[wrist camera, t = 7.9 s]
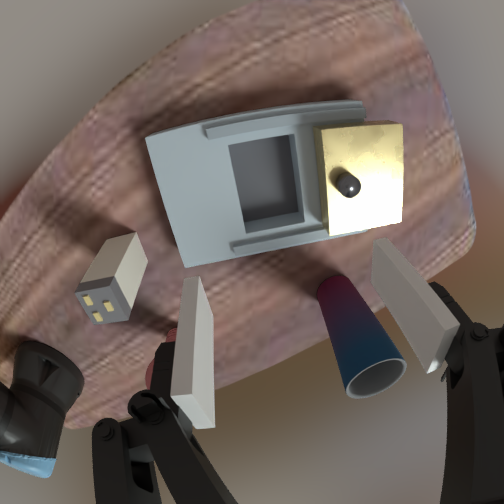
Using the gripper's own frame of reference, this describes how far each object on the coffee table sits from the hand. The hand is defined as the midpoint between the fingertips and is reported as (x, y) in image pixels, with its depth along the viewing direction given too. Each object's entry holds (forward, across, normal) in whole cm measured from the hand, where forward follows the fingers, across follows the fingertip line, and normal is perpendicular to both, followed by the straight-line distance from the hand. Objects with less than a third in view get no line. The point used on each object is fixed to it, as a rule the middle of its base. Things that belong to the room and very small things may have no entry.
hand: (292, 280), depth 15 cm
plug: (+17, -16, -5) cm, 24 cm away
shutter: (+14, +10, 0) cm, 17 cm away
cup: (+18, +8, -17) cm, 26 cm away
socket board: (+17, +1, 0) cm, 17 cm away
